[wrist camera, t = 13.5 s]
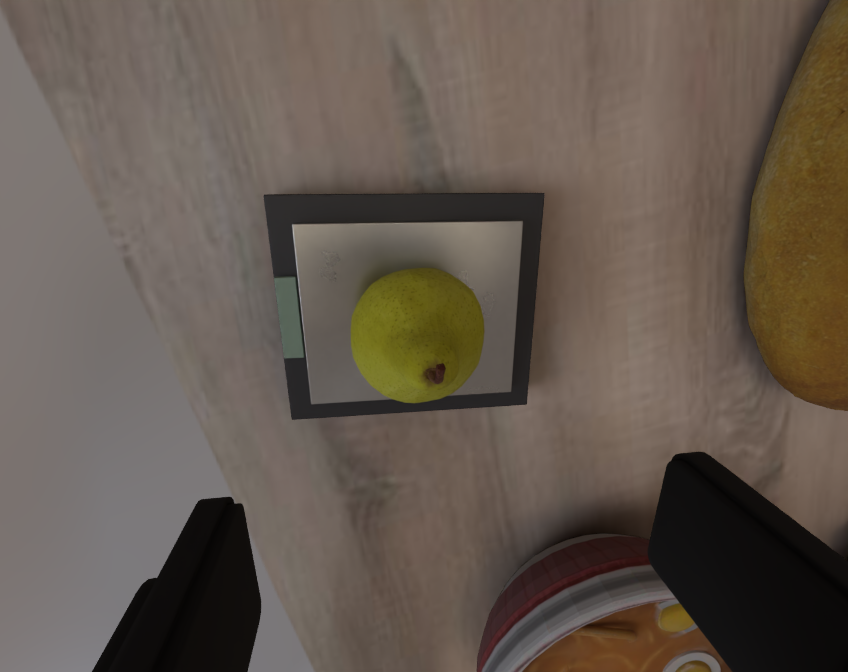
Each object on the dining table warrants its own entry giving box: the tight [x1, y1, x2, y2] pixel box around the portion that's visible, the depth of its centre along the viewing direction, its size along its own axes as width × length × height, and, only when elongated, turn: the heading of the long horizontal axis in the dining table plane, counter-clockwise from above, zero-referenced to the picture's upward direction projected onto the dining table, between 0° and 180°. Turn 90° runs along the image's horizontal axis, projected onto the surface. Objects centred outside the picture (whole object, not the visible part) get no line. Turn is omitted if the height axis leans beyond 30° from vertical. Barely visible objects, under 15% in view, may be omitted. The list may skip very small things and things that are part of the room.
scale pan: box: [292, 220, 523, 404], centre depth 25 cm, size 13×11×1 cm
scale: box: [264, 193, 544, 420], centre depth 27 cm, size 16×14×3 cm
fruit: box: [351, 268, 485, 403], centre depth 19 cm, size 7×7×12 cm
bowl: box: [477, 533, 732, 672], centre depth 34 cm, size 23×23×10 cm
